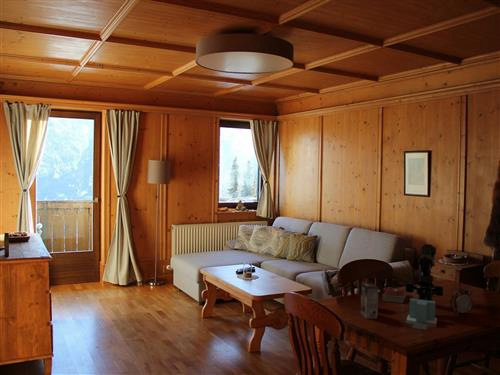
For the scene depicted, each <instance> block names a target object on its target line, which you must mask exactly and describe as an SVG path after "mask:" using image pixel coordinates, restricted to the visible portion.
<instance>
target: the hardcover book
mask: <svg viewBox="0 0 500 375" xmlns="http://www.w3.org/2000/svg"><path fill="white" fill-rule="evenodd" d="M407 293H408V292H406V289H405V288H401V287H400V288H397V287H391V286H390V287H389V286H388V287H387V288H386V289H385V291H384V293H383V294H382V296H381V301H382V302H388V301H389V302H390V303H397V304H403V303H404V301H405V299H406V297H407V295H408V294H407Z"/></svg>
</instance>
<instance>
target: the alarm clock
mask: <svg viewBox="0 0 500 375" xmlns="http://www.w3.org/2000/svg"><path fill="white" fill-rule="evenodd" d="M461 287H465V289H463V290H460V289H459V288H461ZM471 296H472V291H471V290H470V288H468V287H467V285H464V284H463V285H458V286H457V287H456V288H454V289H453V291H452V295H451V297H450V306H451V308H452V309H453V310H454V311H453V312H454V313H455V312H457V313H456V314H457V315H459V313H461V314H465V313H467V315H468V314H469V311H470V310H471V309H472V306H473V298H472V297H471Z"/></svg>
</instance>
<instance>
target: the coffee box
mask: <svg viewBox="0 0 500 375" xmlns="http://www.w3.org/2000/svg"><path fill="white" fill-rule="evenodd" d="M378 290H379V287H378V286H377V285H375V283H373V282H371V283H369V282H362V283H360V314H361V316H363V317H364V318H365V319H378V316H379V315H378V312H379V310H378V309H379V300H378Z"/></svg>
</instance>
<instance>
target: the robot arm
mask: <svg viewBox="0 0 500 375" xmlns="http://www.w3.org/2000/svg"><path fill="white" fill-rule="evenodd" d="M420 254H421V255H420V258H419V259H418V262H417V266H418V267H419V268H418V269H419V277H418V281H417V285H414V283H413V282H405V284H404V285H405V287H404V289H406V292H407V293H414V291H416V295H418V300H427V301H433V296H434V295H435V296H438V297H443V296H444V286H442V285H435V284H434V283H433V281H434V275H432V269H433V268H434V266H435V261H434V260H435V257H436V256H437V247H435V246H434V245H433V244H428V243H424V244H423V245H422V246H421V247H420Z"/></svg>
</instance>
